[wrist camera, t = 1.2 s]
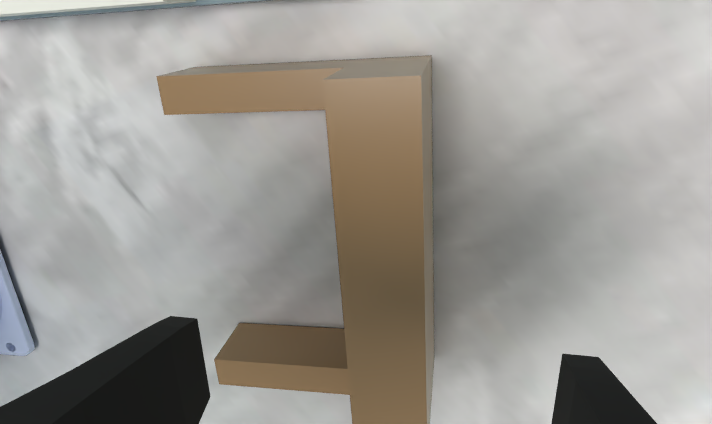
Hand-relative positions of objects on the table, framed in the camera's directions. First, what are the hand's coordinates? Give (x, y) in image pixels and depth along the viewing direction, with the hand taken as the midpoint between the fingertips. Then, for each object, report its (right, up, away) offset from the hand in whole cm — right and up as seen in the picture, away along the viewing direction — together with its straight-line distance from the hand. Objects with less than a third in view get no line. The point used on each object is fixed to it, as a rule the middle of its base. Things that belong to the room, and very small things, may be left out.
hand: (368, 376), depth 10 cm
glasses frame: (-2, +3, +10) cm, 10 cm away
